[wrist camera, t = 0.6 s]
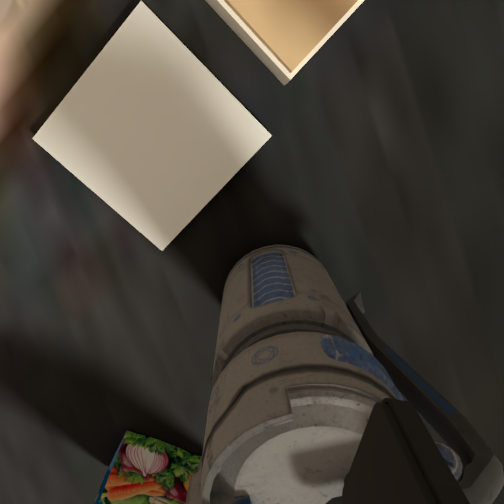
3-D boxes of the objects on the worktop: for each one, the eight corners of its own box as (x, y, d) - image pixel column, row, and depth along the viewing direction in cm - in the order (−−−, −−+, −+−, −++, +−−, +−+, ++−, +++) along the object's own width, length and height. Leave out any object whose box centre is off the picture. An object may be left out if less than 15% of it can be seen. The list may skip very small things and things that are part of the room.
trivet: (143, 3, 31) (141, 0, 30) (271, 135, 34) (271, 135, 33) (36, 138, 34) (32, 138, 33) (163, 248, 37) (162, 251, 36)
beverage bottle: (362, 318, 39) (543, 613, 16) (233, 350, 40) (216, 676, 16) (343, 221, 36) (528, 403, 13) (203, 257, 37) (130, 493, 13)
